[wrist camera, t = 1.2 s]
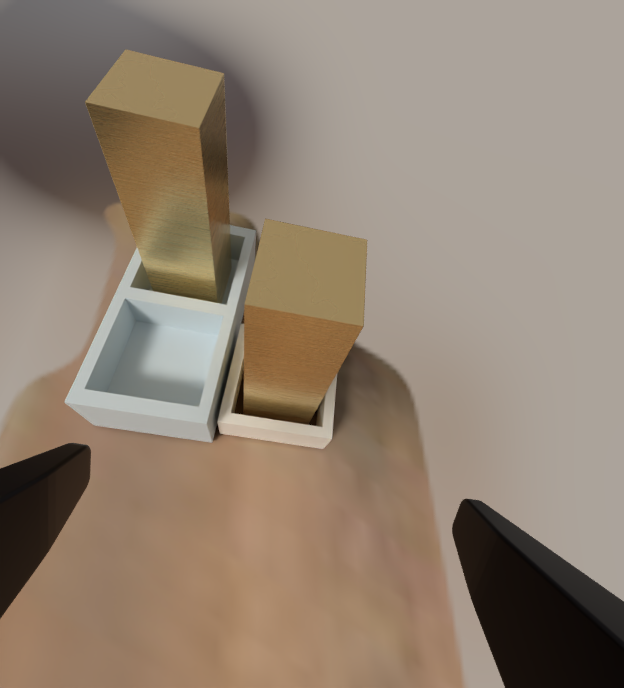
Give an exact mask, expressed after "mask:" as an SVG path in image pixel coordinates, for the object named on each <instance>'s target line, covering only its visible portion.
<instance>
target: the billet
mask: <svg viewBox="0 0 624 688" xmlns="http://www.w3.org/2000/svg"><path fill="white" fill-rule="evenodd" d="M366 257H367V240H365V239H361V238H356V237H351V236H346V235H341V234H336V233H331V232H327V231H322V230H317V229H313V228H308V227H303V226H298V225H293V224H288V223H284V222H278V221H274V220H269V219H265V222H264V226H263V230H262V234H261V238H260V242H259V246H258V250H257V255H256V259H255V263H254V267H253V271H252V275H251V279H250V283H249V287H248V291H247V296H246V300H245V304H244V415H247V416H254V417H260V418H267V419H273V420H279V421H286V422H292V423H299V424H305V425H308V424H309V422H310V420H311V418H312V417H313V415H314V413H315V411H316V410H317V408H318V406H319V404H320V402H321V401H322V399H323V397H324V395H325V394H326V392H327V390H328V388H329V386H330V385H331V383H332V381H333V379H334V378H335V376H336V374H337V372H338V371H339V369H340V367H341V365H342V363H343V362H344V360H345V358H346V356H347V355H348V353H349V351H350V349H351V348H352V346H353V344H354V342H355V340H356V339H357V337H358V335H359V333H360V331H361V330H362V328H363V326H364V303H365V279H366Z"/></svg>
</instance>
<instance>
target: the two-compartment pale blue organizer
mask: <svg viewBox="0 0 624 688" xmlns="http://www.w3.org/2000/svg"><path fill="white" fill-rule="evenodd" d="M230 240H231V266H232V268H231V272H230V276H229V279H228V283H227V286H226V290H225V293H224V297H223V300H222V304H220V303H214V302H209V301H203V300H198V299H193V298H187V297H182V296H176V295H171V294H165V293H160V292H154V291H153V290H152V287H151V284H150V281H149V279H148V276H147V273H146V270H145V268H144V265H143V262H142V259H141V256H140V254H139V251H138V248H136V251H135V253H134V255H133V257H132V259H131V261H130V263H129V266H128V268H127V270H126V272H125V274H124V276H123V278H122V280H121V283H120V285H119V287H118V289H117V291H116V293H115V295H114V298H113V300H112V302H111V304H110V306H109V308H108V310H107V312H106V315H105V317H104V319H103V321H102V323H101V325H100V327H99V330H98V332H97V334H96V336H95V338H94V340H93V342H92V345H91V347H90V349H89V351H88V353H87V355H86V357H85V359H84V362H83V364H82V366H81V368H80V370H79V372H78V374H77V377H76V379H75V381H74V383H73V385H72V387H71V389H70V391H69V394H68V396H67V398H66V400H65V403H66V404H67V405H68V406H70V407H71V408H72V409H74V410H75V411H76V412H77V413H79V414H80V415H81V416H83V417H84V418H85V419H87V420H88V421H89V422H90V423H92V424H93V425H96V426H102V427H109V428H116V429H123V430H130V431H136V432H143V433H150V434H157V435H163V436H170V437H177V438H184V439H191V440H197V441H204V442H211V443H212V442H213V438H214V434H215V430H216V426H217V421H218V417H219V413H220V409H221V404H222V400H223V396H224V392H225V388H226V384H227V380H228V375H229V371H230V367H231V363H232V359H233V355H234V351H235V347H236V342H237V338H238V334H239V330H240V326H241V322H242V318H243V314H244V304H245V300H246V296H247V291H248V287H249V283H250V279H251V275H252V271H253V267H254V263H255V246H256V230H252V229H247V228H242V227H237V226H232V225H230Z"/></svg>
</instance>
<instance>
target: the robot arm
mask: <svg viewBox="0 0 624 688" xmlns="http://www.w3.org/2000/svg"><path fill="white" fill-rule="evenodd" d="M90 463H91V450H90V447H89V446H88V445H84V444H77V443H68V444H65V445H63V446H60V447H57V448H54V449H52V450H49V451H46V452H44V453H41V454H38V455H36V456H33V457H30V458H28V459H25V460H22V461H20V462H17V463H14V464H12V465H9V466H6V467H3V468H1V469H0V618H1V617H2V616H3V614H4V613H5V611H6V610H7V609H8V607H9V606H10V605H11V603H12V602H13V600H14V599H15V598H16V596H17V595H18V593H19V592H20V591H21V589H22V588H23V587H24V585H25V584H26V582H27V581H28V580H29V578H30V577H31V576H32V574H33V573H34V571H35V570H36V569H37V567H38V566H39V564H40V563H41V562H42V560H43V559H44V557H45V556H46V554H47V553H48V552H49V550H50V548H51V547H52V545H53V543H54V542H55V540H56V538H57V537H58V535H59V533H60V532H61V530H62V528H63V527H64V525H65V523H66V521H67V520H68V518H69V516H70V515H71V513H72V511H73V509H74V508H75V506H76V504H77V503H78V501H79V499H80V498H81V496H82V494H83V492H84V491H85V489H86V487H87V485H88V482H89V479H90ZM452 533H453V538H454V541H455V545H456V548H457V552H458V555H459V559H460V562H461V566H462V569H463V573H464V576H465V580H466V583H467V587H468V590H469V593H470V596H471V599H472V602H473V605H474V608H475V611H476V613H477V616H478V618H479V621H480V624H481V626H482V629H483V631H484V634H485V637H486V639H487V642H488V644H489V647H490V650H491V652H492V655H493V657H494V660H495V662H496V665H497V667H498V670H499V673H500V676H501V678H502V681H503V683H504V686H505V688H624V601H622V600H621V599H619V598H618V597H616V596H615V595H614V594H612V593H610V592H609V591H608V590H607V589H605V588H604V587H602V586H601V585H599V584H598V583H597V582H595V581H593V580H592V579H591V578H589V577H588V576H587V575H585V574H584V573H582V572H581V571H580V570H578V569H577V568H575V567H574V566H572V565H571V564H570V563H568V562H566V561H565V560H564V559H562V558H561V557H560V556H558V555H557V554H555V553H554V552H552V551H551V550H550V549H548V548H547V547H546V546H544V545H543V544H541V543H540V542H538V541H537V540H536V539H534V538H533V537H531V536H530V535H529V534H527V533H526V532H524V531H523V530H521V529H520V528H519V527H517V526H516V525H514V524H513V523H511V522H510V521H509V520H507V519H506V518H504V517H503V516H501V515H500V514H499V513H497V512H496V511H494V510H493V509H492V508H490V507H489V506H487V505H486V504H485V503H483V502H482V501H479V500H472V499H464V500H463V501H462V502H461V504H460V506H459V509H458V512H457V514H456V517H455V520H454V523H453V527H452Z"/></svg>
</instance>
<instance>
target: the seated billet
mask: <svg viewBox="0 0 624 688" xmlns="http://www.w3.org/2000/svg"><path fill="white" fill-rule="evenodd" d="M224 91H225V90H224V73H220V72H216V71H212V70H208V69H203V68H199V67H195V66H191V65H187V64H183V63H179V62H175V61H171V60H166V59H162V58H158V57H154V56H150V55H146V54H142V53H138V52H134V51H130V50H125V51H124V52H123V54H122V55H121V56H120V57H119V59H118V60H117V61H116V63H115V64H114V65H113V67H112V68H111V69H110V71H109V72H108V73H107V74H106V76H105V77H104V78H103V80H102V81H101V82H100V84H99V85H98V86H97V87H96V89H95V90H94V91H93V92H92V94H91V95H90V96H89V98H88V99H87V100H86V102H85V103H86V106H87V109H88V111H89V114H90V117H91V120H92V123H93V125H94V128H95V131H96V134H97V137H98V139H99V142H100V145H101V148H102V150H103V153H104V156H105V159H106V162H107V164H108V167H109V170H110V173H111V176H112V178H113V181H114V184H115V186H116V190H117V192H118V195H119V198H120V201H121V203H122V206H123V209H124V212H125V215H126V217H127V220H128V223H129V226H130V229H131V231H132V234H133V237H134V240H135V242H136V245H137V248H138V251H139V254H140V256H141V259H142V262H143V265H144V268H145V270H146V273H147V276H148V279H149V281H150V284H151V287H152V290H153V291H154V292H160V293H165V294H171V295H176V296H182V297H187V298H193V299H198V300H203V301H209V302H214V303H220V304H222V300H223V297H224V293H225V290H226V286H227V283H228V279H229V276H230V272H231V268H232V266H231V240H230V215H229V192H228V166H227V140H226V114H225V92H224Z"/></svg>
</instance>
